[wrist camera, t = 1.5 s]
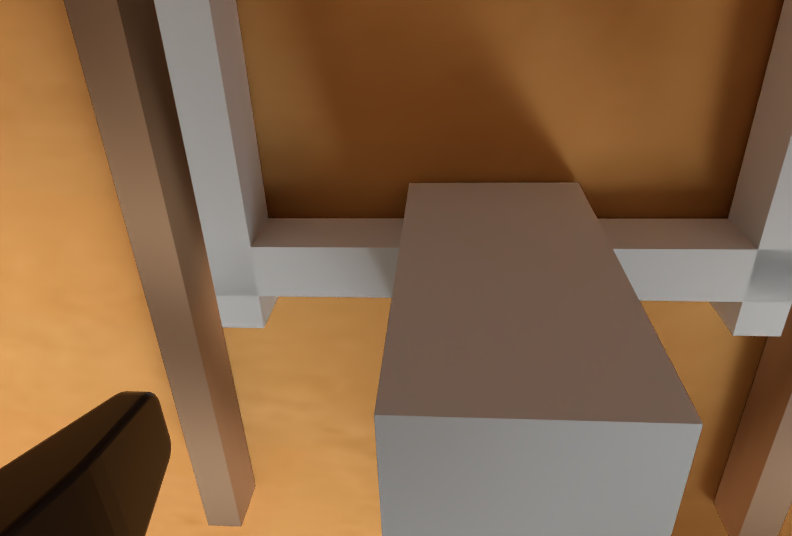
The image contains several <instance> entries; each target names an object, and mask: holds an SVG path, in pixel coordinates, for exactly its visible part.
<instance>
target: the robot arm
mask: <svg viewBox="0 0 792 536" xmlns="http://www.w3.org/2000/svg"><path fill="white" fill-rule="evenodd" d="M170 453H171V441H170V436H169V433H168V429H167V426H166V422H165V419H164V416H163V412H162V409H161V405H160V402H159V400H158V398H157V396H156V395H155V394H154V393H151V392H135V391H125V392H120V393H118V394H116V395H114V396H113V397H111V398H110V399H108V400H107V401H105V402H104V403H102V404H100V405H99V406H97V407H96V408H94V409H93V410H91V411H89V412H88V413H86V414H85V415H83V416H82V417H80V418H79V419H77V420H75V421H74V422H72V423H71V424H69V425H68V426H66V427H64V428H63V429H61V430H60V431H58V432H57V433H55V434H54V435H52V436H50V437H49V438H47V439H46V440H44V441H43V442H41V443H39V444H38V445H36V446H35V447H33V448H32V449H30V450H29V451H27V452H25V453H24V454H22V455H21V456H19V457H18V458H16V459H14V460H13V461H11V462H10V463H8V464H7V465H5V466H4V467H2V468H0V536H145V535H146V532H147V529H148V525H149V522H150V519H151V516H152V513H153V510H154V507H155V503H156V500H157V497H158V494H159V491H160V488H161V484H162V481H163V478H164V475H165V472H166V469H167V465H168V462H169V459H170Z"/></svg>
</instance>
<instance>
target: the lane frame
mask: <svg viewBox="0 0 792 536" xmlns="http://www.w3.org/2000/svg"><path fill="white" fill-rule="evenodd" d="M64 4H65V7H66V11H67V15H68V18H69V22H70V25H71V29H72V33H73V36H74V40H75V44H76V47H77V51H78V54H79V58H80V62H81V65H82V69H83V73H84V76H85V80H86V83H87V87H88V91H89V94H90V98H91V101H92V105H93V109H94V112H95V116H96V120H97V123H98V127H99V130H100V134H101V138H102V141H103V145H104V149H105V152H106V156H107V159H108V163H109V167H110V170H111V174H112V177H113V181H114V185H115V188H116V192H117V196H118V199H119V203H120V206H121V210H122V214H123V217H124V221H125V224H126V228H127V232H128V235H129V239H130V243H131V246H132V250H133V253H134V257H135V261H136V264H137V268H138V272H139V275H140V279H141V282H142V286H143V290H144V293H145V297H146V300H147V304H148V308H149V311H150V315H151V319H152V322H153V326H154V329H155V333H156V337H157V340H158V344H159V348H160V351H161V355H162V358H163V362H164V366H165V369H166V373H167V376H168V380H169V384H170V387H171V391H172V395H173V398H174V402H175V405H176V409H177V413H178V416H179V420H180V423H181V427H182V431H183V434H184V438H185V442H186V445H187V449H188V452H189V456H190V460H191V463H192V467H193V471H194V474H195V478H196V481H197V485H198V489H199V492H200V496H201V499H202V503H203V507H204V510H205V514H206V518H207V521H208V525H217V526H240V527H241V526H242V523H243V520H244V518H245V515H246V512H247V509H248V506H249V503H250V500H251V497H252V494H253V491H254V489H255V481H254V477H253V472H252V467H251V462H250V458H249V453H248V448H247V443H246V439H245V434H244V429H243V424H242V419H241V415H240V410H239V405H238V400H237V396H236V391H235V386H234V381H233V376H232V372H231V367H230V362H229V357H228V353H227V348H226V343H225V338H224V334H223V329H222V324H221V319H220V314H219V310H218V305H217V300H216V295H215V291H214V286H213V281H212V276H211V272H210V267H209V262H208V257H207V252H206V248H205V243H204V238H203V233H202V229H201V224H200V219H199V214H198V209H197V205H196V200H195V195H194V190H193V186H192V181H191V176H190V171H189V167H188V162H187V157H186V152H185V147H184V143H183V138H182V133H181V128H180V124H179V119H178V114H177V109H176V105H175V100H174V95H173V90H172V85H171V81H170V76H169V71H168V66H167V62H166V57H165V52H164V47H163V43H162V38H161V33H160V28H159V23H158V19H157V14H156V9H155V4H154V0H64ZM791 503H792V304H791V307H790V310H789V313H788V316H787V319H786V322H785V325H784V328H783V331H782V334H781V336H768V338H767V341H766V344H765V348H764V351H763V354H762V357H761V360H760V363H759V366H758V369H757V372H756V375H755V378H754V381H753V384H752V387H751V390H750V393H749V396H748V399H747V403H746V406H745V409H744V412H743V415H742V418H741V421H740V424H739V427H738V430H737V433H736V436H735V439H734V442H733V445H732V448H731V451H730V454H729V458H728V461H727V464H726V467H725V470H724V473H723V476H722V479H721V482H720V485H719V488H718V491H717V494H716V497H715V500H714V505H715V508H716V510H717V512H718V514H719V516H720V518H721V520H722V523H723V525H724V527H725V529H726V531H727V533H728V536H778V534H779V532H780V529H781V527H782V525H783V522H784V520H785V517H786V515H787V513H788V510H789V508H790V506H791Z"/></svg>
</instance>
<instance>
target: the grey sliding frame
mask: <svg viewBox="0 0 792 536" xmlns="http://www.w3.org/2000/svg"><path fill="white" fill-rule="evenodd" d="M154 3H155V8H156V13H157V17H158V22H159V27H160V32H161V37H162V41H163V46H164V51H165V56H166V60H167V65H168V70H169V75H170V79H171V84H172V89H173V94H174V99H175V103H176V108H177V113H178V118H179V122H180V127H181V132H182V137H183V142H184V146H185V151H186V156H187V161H188V165H189V170H190V175H191V180H192V185H193V189H194V194H195V199H196V204H197V208H198V213H199V218H200V223H201V228H202V232H203V237H204V242H205V247H206V251H207V256H208V261H209V266H210V271H211V275H212V280H213V285H214V290H215V294H216V299H217V304H218V309H219V313H220V318H221V323H222V327H231V328H264V327H265V325H266V323H267V321H268V318H269V316H270V314H271V312H272V310H273V308H274V305H275V303H276V301H277V299H278V297H279V296H287V297H371V298H392V300H391V307H390V314H389V320H388V327H387V333H386V340H385V347H384V353H383V360H382V366H381V373H380V380H379V386H378V393H377V399H376V406H375V413H374V420H375V435H376V450H377V465H378V480H379V495H380V510H381V525H382V536H671V534H672V531H673V527H674V524H675V520H676V517H677V513H678V510H679V506H680V503H681V499H682V496H683V493H684V489H685V486H686V482H687V479H688V475H689V472H690V468H691V465H692V461H693V458H694V454H695V451H696V447H697V444H698V440H699V437H700V434H701V430H702V427H703V423H702V421H701V419H700V417H699V415H698V413H697V411H696V409H695V407H694V405H693V403H692V401H691V400H690V398H689V396H688V394H687V392H686V390H685V388H684V386H683V384H682V382H681V380H680V378H679V376H678V374H677V372H676V370H675V369H674V367H673V365H672V363H671V361H670V359H669V357H668V355H667V353H666V351H665V349H664V347H663V345H662V343H661V341H660V339H659V338H658V336H657V334H656V332H655V330H654V328H653V326H652V324H651V322H650V320H649V318H648V316H647V314H646V312H645V310H644V308H643V307H642V305H641V303H640V301H708V302H710V304H711V305H712V307H713V308H714V309H715V311H716V312H717V314H718V315H719V317H720V318H721V319H722V321H723V322H724V324H725V325H726V327H727V328H728V329H729V331H730V332H731V334H732V335H733V336H781V334H782V331H783V328H784V325H785V322H786V319H787V316H788V313H789V310H790V307H791V304H792V0H784V3H783V7H782V11H781V15H780V19H779V23H778V27H777V31H776V35H775V38H774V42H773V46H772V50H771V54H770V58H769V62H768V66H767V69H766V73H765V77H764V81H763V85H762V89H761V93H760V97H759V100H758V104H757V108H756V112H755V116H754V120H753V124H752V128H751V132H750V135H749V139H748V143H747V147H746V151H745V155H744V159H743V163H742V166H741V170H740V174H739V178H738V182H737V186H736V190H735V194H734V197H733V201H732V205H731V209H730V213H729V217H728V219H597V217H596V215H595V213H594V212H593V210H592V208H591V206H590V204H589V202H588V200H587V198H586V196H585V194H584V192H583V190H582V188H581V186H580V184H579V182H553V183H409V188H408V195H407V201H406V208H405V214H404V218H268V212H267V206H266V199H265V192H264V185H263V179H262V172H261V165H260V159H259V152H258V145H257V138H256V132H255V125H254V118H253V111H252V105H251V98H250V91H249V84H248V78H247V71H246V64H245V58H244V51H243V44H242V37H241V31H240V24H239V17H238V10H237V4H236V0H154Z"/></svg>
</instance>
